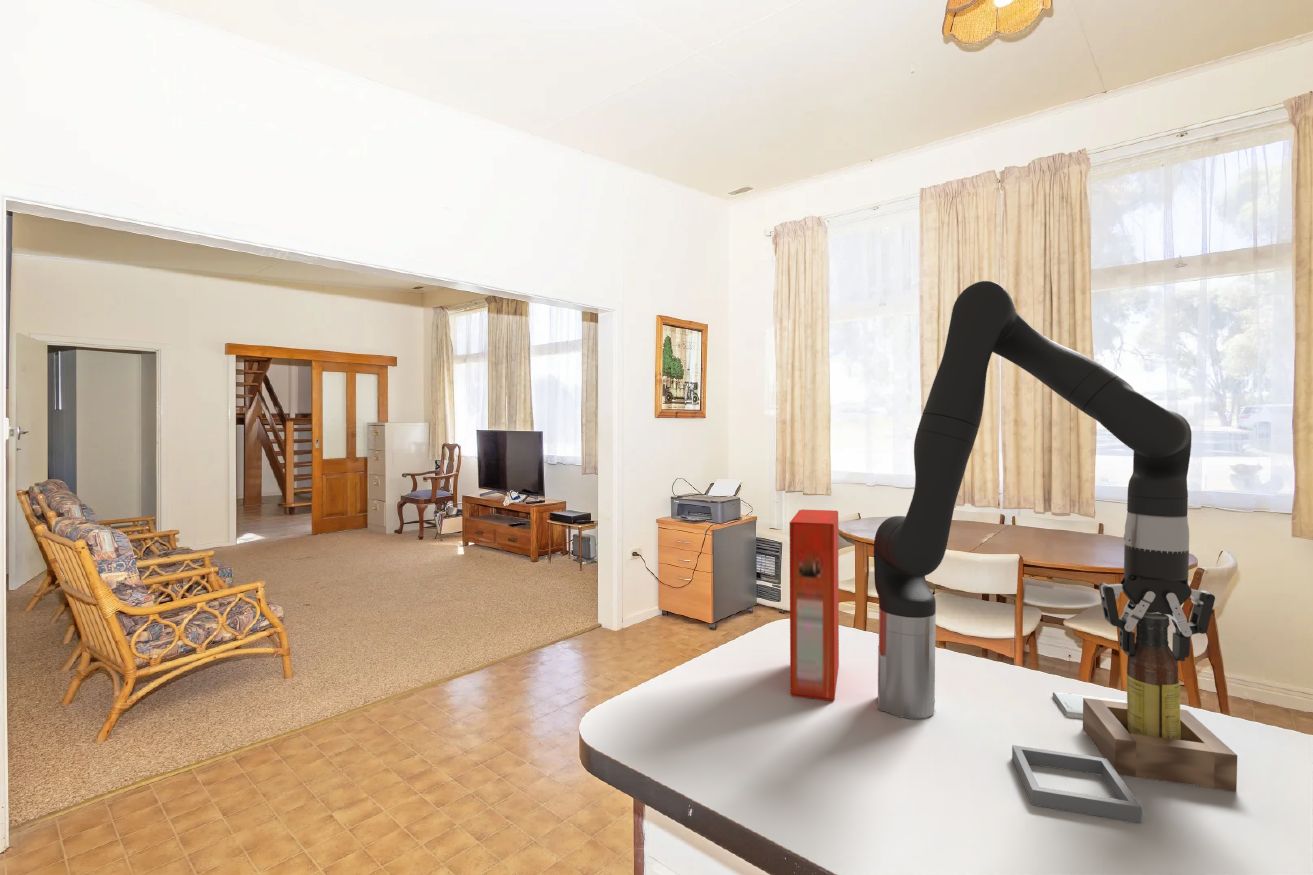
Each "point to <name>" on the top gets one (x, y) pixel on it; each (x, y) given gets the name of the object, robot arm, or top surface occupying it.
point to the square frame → (1070, 801)
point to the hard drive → (1075, 703)
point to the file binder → (814, 604)
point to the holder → (1160, 748)
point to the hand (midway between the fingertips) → (1153, 656)
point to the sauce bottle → (1153, 681)
